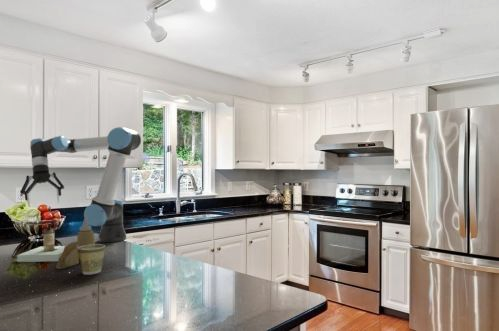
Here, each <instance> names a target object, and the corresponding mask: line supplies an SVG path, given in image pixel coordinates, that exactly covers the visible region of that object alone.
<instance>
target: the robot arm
mask: <svg viewBox="0 0 499 331" xmlns="http://www.w3.org/2000/svg"><path fill="white" fill-rule="evenodd" d="M141 143H142V138H141V135H140V134H139V132H138V131H137V130H135V129H130V128H128V127H124V126H122V127H120V126H118V127H114V128H112V129H111V130H110V131H109V133H108V135H106V136H96V137H84V138H73V139H71V138H70V139H67V138H66V137H65V136H63V135H58V136H54V137H52V138H48V139H46V140H45V139H44V138H40V137H39V138H33V139H32V140H31V141H30V152H31V153H30V154H31V155H30V156H31V165H32V175H25V176H26V178H25V182H24V183H23V185H22V187H21V190H20V195H24V200H25V201H26V202H27V206H28V207H32V206H31V205H32V204H31V194H30V193H31V191H32V190H33V189H34V187H35V186H36V185H37V184H42V183H44V184H45V183H48V184H50V185H51V186H53V188H55V189H56V198H57V202H58V203H60V202H61V200H60V197H61V196H62V190H64V189H65V185H64V184H63V183H62V182H61V180H60V179H59V178H58V176H57V173H56V172H55V171H54V172H53V173H50V168H49V160H48V159H49V158H48V155H51V154H53V153H69V154H73V153H75V154H76V153H77V152H78V153H80V152H92V151H103V150H108V152H109V155H108V158H107V161H106V163H105V168H104V171H103V174H102V176H101V177H102V178H101V181H100V184H99V186H98V187H99V188H98V189H97V194H96V195H95V196H93V197H92V200H91V202H90V204H89V205H88V206H86V208H85V209H84V211H83V217H84V219H85V218H87V221H88V225H89V226H91V227H100V231H99V233H98V237H97V240H98V242H100V243H115V242H123V241H125V240H127V233H126V229H125V227H124V203H123V201H122V200H121V199H114V198H115V195H116V192H117V188H118V185H119V182H120V179H121V177H122V176H121V175H122V172H123V168H124V166H125V162H126V159H127V158H128V157H130V156H131V154H132V151H135V150H136V149H138V148H139V147H140V146H141ZM51 178H54V179H55V181H56V183H57V184H56V183H55V182H54V181H52V179H51ZM32 180H33V181H32ZM31 181H32V182H31ZM30 182H31V184H30ZM29 184H30V185H29ZM28 185H29V186H28Z"/></svg>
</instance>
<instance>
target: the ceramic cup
mask: <svg viewBox="0 0 499 331" xmlns="http://www.w3.org/2000/svg"><path fill="white" fill-rule="evenodd" d="M77 250H78V255H79V263H80V266H81V267H80V268H81V273H82V274H83V275H89V276H91V275H96V274H99V273H101V272H102V267H103V261H104V256H105V253H106V252H105V250H106V245H105V244H103V243H102V244H101V243H95V244H91V245H84V246H80V247H78V248H77Z"/></svg>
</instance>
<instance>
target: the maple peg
mask: <svg viewBox="0 0 499 331" xmlns="http://www.w3.org/2000/svg"><path fill="white" fill-rule="evenodd" d="M43 246H44V252H53V251H54V246H55V229H50V230H49V229H48V230H43Z"/></svg>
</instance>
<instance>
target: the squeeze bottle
mask: <svg viewBox="0 0 499 331" xmlns="http://www.w3.org/2000/svg"><path fill="white" fill-rule="evenodd" d="M76 242H78V244H79V247H80V246H84V245H91V244H96V242H95V233H94V231H93V230H92V225H90V224H88V221H87V218H85V217H84V218H83V222H82V226H80V227H79V231H78V232H77V240H76ZM78 256H79V255H78Z"/></svg>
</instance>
